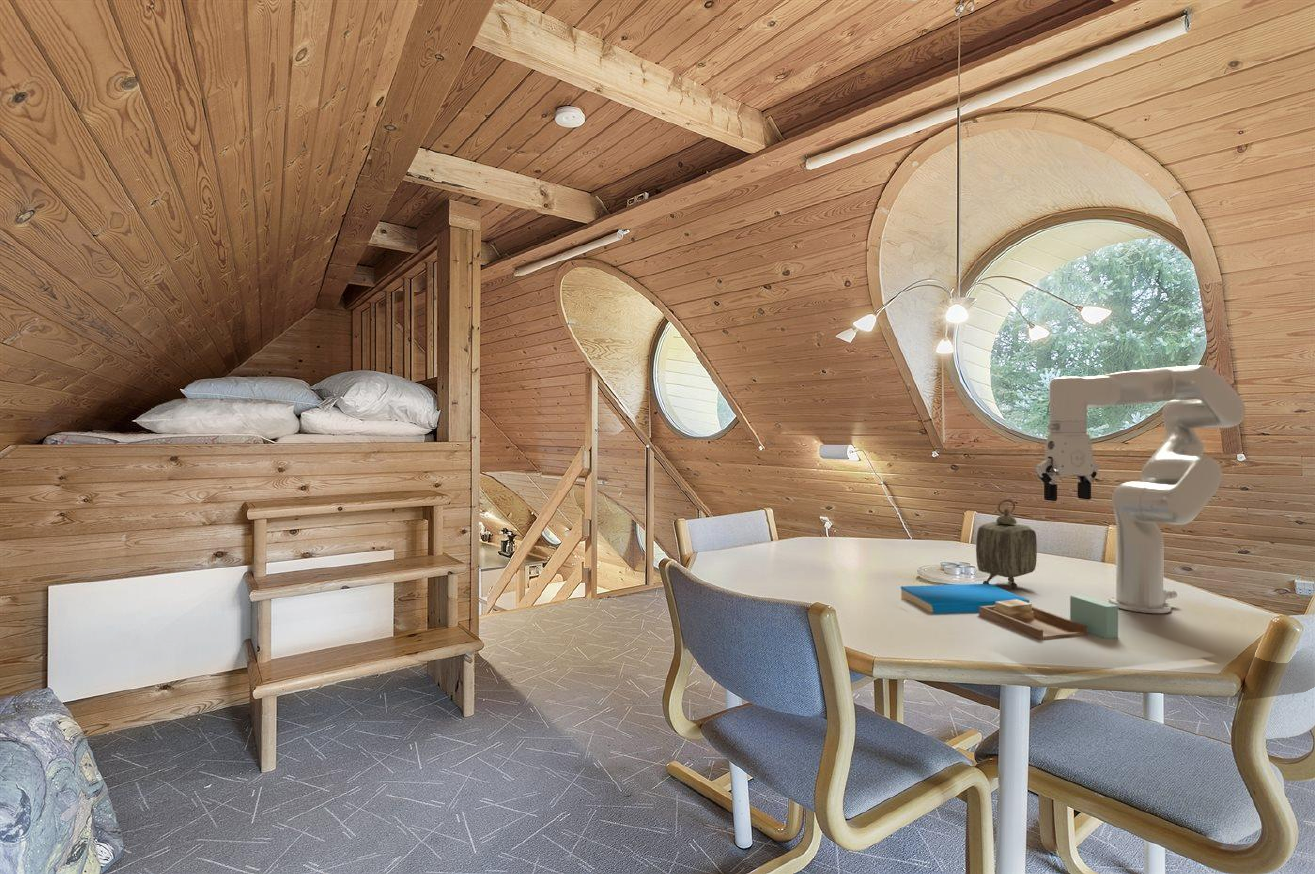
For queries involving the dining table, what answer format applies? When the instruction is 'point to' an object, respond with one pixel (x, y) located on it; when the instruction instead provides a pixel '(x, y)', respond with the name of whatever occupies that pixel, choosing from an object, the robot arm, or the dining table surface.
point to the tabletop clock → (1006, 547)
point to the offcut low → (1019, 615)
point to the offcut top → (1013, 606)
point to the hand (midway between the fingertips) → (1067, 499)
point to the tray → (1037, 624)
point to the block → (1095, 615)
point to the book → (956, 597)
